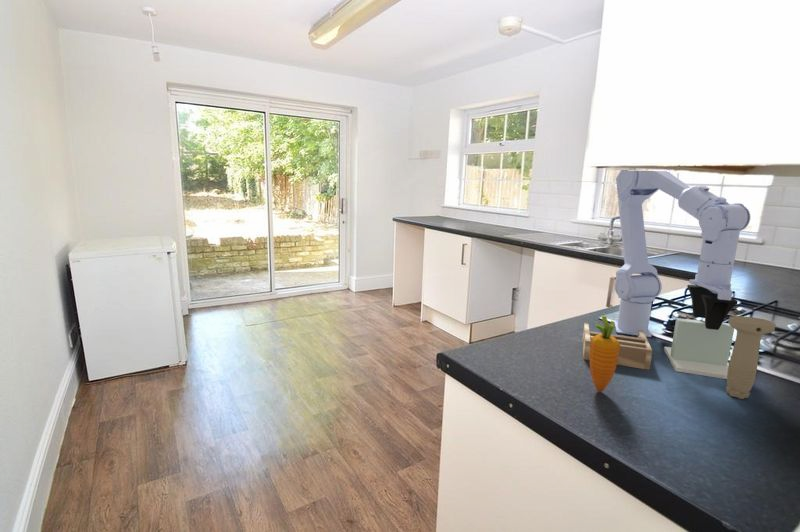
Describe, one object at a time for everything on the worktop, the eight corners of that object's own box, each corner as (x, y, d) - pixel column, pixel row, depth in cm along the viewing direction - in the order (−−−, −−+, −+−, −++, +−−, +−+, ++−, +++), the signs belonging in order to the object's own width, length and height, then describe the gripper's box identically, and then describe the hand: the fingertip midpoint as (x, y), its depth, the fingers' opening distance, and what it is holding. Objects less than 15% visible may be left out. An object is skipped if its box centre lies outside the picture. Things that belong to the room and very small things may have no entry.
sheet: (670, 355, 90) (676, 318, 88) (723, 362, 87) (730, 323, 85) (672, 358, 88) (678, 321, 86) (727, 366, 85) (734, 326, 83)
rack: (582, 339, 101) (584, 319, 100) (640, 347, 96) (643, 326, 95) (583, 359, 90) (585, 336, 89) (649, 369, 85) (653, 346, 84)
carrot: (612, 401, 73) (622, 324, 70) (583, 394, 75) (591, 319, 72) (614, 389, 77) (623, 316, 74) (586, 382, 79) (594, 312, 76)
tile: (663, 349, 95) (664, 346, 95) (719, 357, 91) (720, 354, 91) (675, 371, 84) (675, 367, 84) (739, 381, 80) (740, 377, 80)
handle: (765, 404, 72) (781, 327, 68) (723, 399, 73) (738, 323, 70) (749, 391, 76) (764, 318, 73) (711, 386, 78) (724, 315, 75)
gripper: (683, 254, 91) (674, 310, 94) (705, 267, 77) (694, 332, 80) (720, 256, 88) (709, 313, 91) (750, 270, 75) (737, 336, 78)
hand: (705, 322), depth 86 cm, fingers open, 7 cm apart
